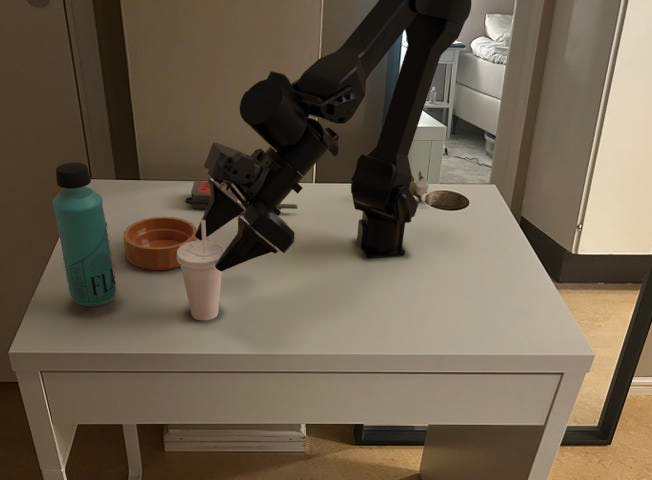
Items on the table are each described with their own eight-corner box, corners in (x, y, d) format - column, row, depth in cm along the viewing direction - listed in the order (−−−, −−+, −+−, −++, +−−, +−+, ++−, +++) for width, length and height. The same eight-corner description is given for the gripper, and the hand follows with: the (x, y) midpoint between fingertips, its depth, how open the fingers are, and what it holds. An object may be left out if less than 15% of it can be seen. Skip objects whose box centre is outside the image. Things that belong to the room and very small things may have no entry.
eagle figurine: (411, 184, 132) (368, 179, 130) (429, 160, 126) (384, 155, 123) (418, 218, 130) (374, 214, 127) (436, 196, 123) (391, 191, 121)
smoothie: (220, 328, 94) (216, 234, 86) (175, 322, 95) (166, 228, 87) (233, 304, 99) (229, 212, 91) (189, 298, 100) (182, 207, 92)
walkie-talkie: (183, 214, 123) (297, 216, 123) (181, 190, 120) (297, 193, 120) (190, 194, 130) (297, 196, 130) (188, 171, 127) (298, 173, 127)
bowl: (195, 237, 116) (193, 214, 113) (201, 269, 107) (199, 246, 104) (126, 241, 114) (123, 219, 111) (126, 275, 105) (123, 251, 103)
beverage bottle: (95, 321, 95) (71, 180, 83) (61, 306, 98) (32, 168, 86) (128, 300, 99) (110, 163, 87) (94, 287, 102) (72, 153, 90)
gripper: (220, 99, 90) (144, 191, 93) (271, 146, 76) (180, 252, 80) (276, 152, 97) (204, 235, 101) (332, 204, 84) (246, 299, 87)
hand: (207, 253), depth 92 cm, fingers open, 9 cm apart
